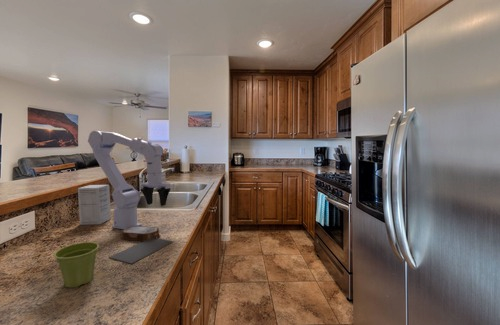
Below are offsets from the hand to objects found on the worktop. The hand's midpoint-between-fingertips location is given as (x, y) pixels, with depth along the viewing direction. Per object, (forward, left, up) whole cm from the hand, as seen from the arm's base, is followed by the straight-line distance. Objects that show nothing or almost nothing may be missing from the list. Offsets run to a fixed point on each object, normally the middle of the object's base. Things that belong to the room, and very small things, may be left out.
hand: (156, 204), depth 102 cm
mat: (+11, -18, -11) cm, 23 cm away
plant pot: (+11, -39, -11) cm, 42 cm away
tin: (+1, -14, -9) cm, 16 cm away
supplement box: (-34, -4, -11) cm, 36 cm away
